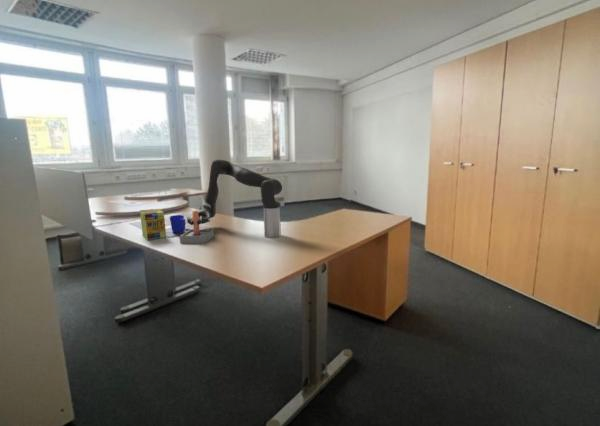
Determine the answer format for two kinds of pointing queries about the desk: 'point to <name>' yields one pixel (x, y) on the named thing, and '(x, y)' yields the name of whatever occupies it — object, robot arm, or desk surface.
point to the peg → (195, 224)
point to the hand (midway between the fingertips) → (194, 223)
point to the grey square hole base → (190, 237)
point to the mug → (177, 223)
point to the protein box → (153, 224)
